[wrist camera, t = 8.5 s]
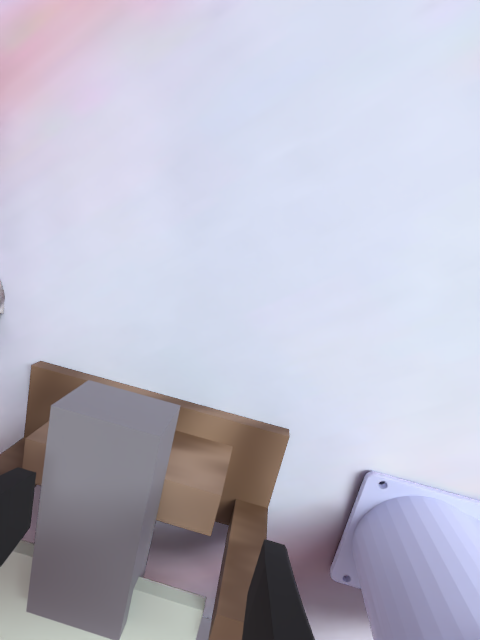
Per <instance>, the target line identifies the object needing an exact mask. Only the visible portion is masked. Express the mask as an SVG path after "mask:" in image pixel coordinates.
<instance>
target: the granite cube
mask: <svg viewBox="0 0 480 640" xmlns="http://www.w3.org/2000/svg"><path fill="white" fill-rule="evenodd" d="M211 621H212V619H209V618H205V617H202V619H201V622H200V626H199V630H198V633H197V637H196V640H208V638H209V632H210V626H211Z"/></svg>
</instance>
